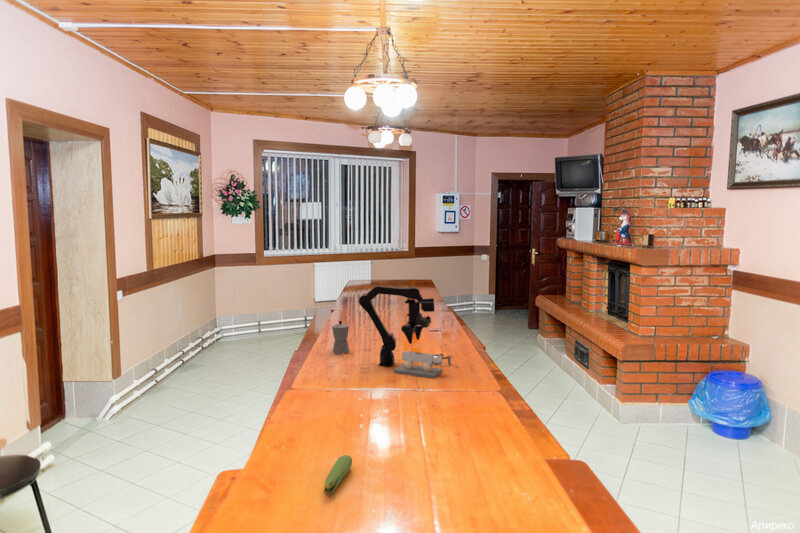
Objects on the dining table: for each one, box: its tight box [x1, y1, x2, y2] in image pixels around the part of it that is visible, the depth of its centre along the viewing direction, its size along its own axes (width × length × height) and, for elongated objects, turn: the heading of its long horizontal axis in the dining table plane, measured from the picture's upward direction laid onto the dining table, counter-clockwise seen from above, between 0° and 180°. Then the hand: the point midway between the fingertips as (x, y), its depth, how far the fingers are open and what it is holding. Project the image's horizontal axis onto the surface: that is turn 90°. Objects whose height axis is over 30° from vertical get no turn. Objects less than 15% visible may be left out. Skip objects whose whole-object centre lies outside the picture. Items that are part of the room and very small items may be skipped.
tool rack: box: [393, 360, 443, 379], centre depth 252 cm, size 21×11×6 cm, turn 64°
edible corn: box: [323, 454, 353, 497], centre depth 151 cm, size 5×20×5 cm
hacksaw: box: [438, 353, 458, 368], centre depth 270 cm, size 24×10×2 cm, turn 174°
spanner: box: [401, 350, 443, 366], centre depth 251 cm, size 20×5×4 cm, turn 64°
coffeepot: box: [331, 320, 350, 355], centre depth 290 cm, size 15×9×18 cm, turn 8°
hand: (414, 341), depth 264 cm, fingers open, 9 cm apart
